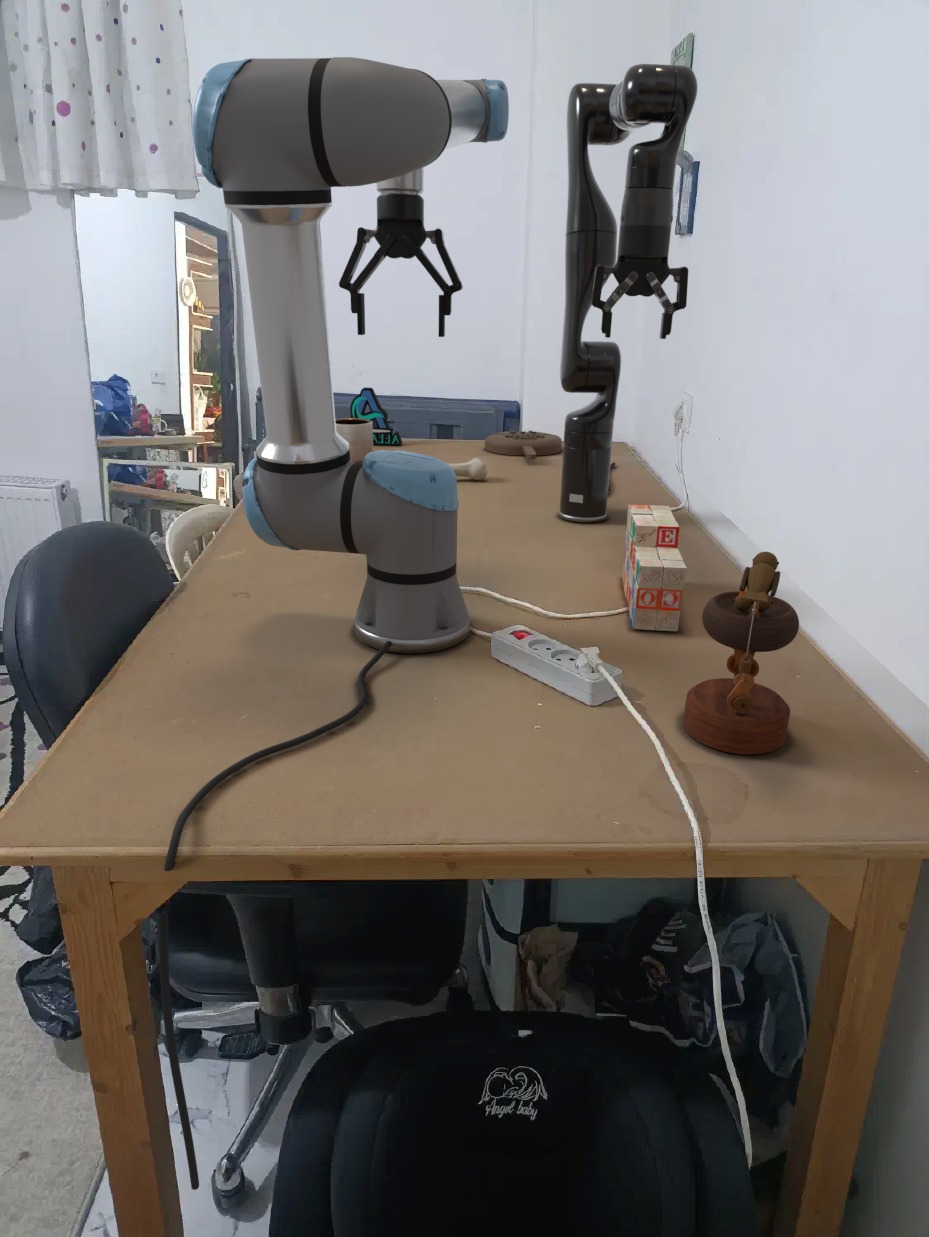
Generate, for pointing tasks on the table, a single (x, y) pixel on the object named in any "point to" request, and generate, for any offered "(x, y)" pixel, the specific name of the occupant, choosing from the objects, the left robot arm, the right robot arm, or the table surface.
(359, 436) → the planter
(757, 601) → the music box
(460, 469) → the dog toy
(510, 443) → the ice cream bar
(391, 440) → the decorative sign
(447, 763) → the table surface
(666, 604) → the stack of blocks
